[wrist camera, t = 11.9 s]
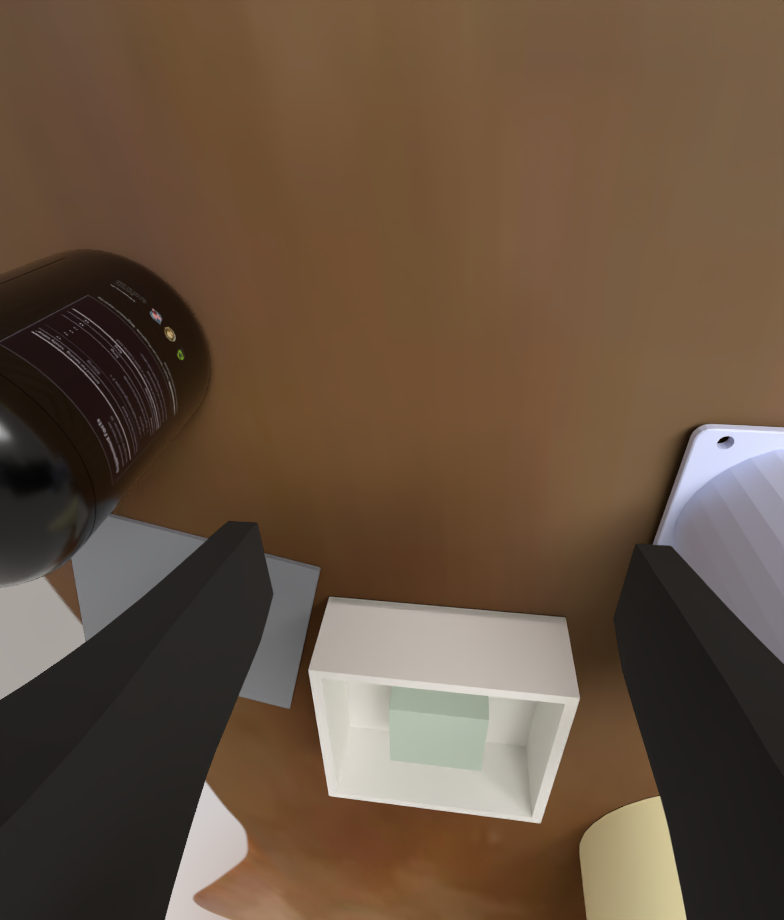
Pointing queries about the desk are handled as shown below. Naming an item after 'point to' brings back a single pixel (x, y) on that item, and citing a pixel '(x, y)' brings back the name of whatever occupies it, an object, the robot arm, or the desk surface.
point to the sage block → (438, 727)
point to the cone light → (631, 866)
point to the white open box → (451, 670)
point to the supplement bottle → (85, 397)
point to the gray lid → (155, 556)
